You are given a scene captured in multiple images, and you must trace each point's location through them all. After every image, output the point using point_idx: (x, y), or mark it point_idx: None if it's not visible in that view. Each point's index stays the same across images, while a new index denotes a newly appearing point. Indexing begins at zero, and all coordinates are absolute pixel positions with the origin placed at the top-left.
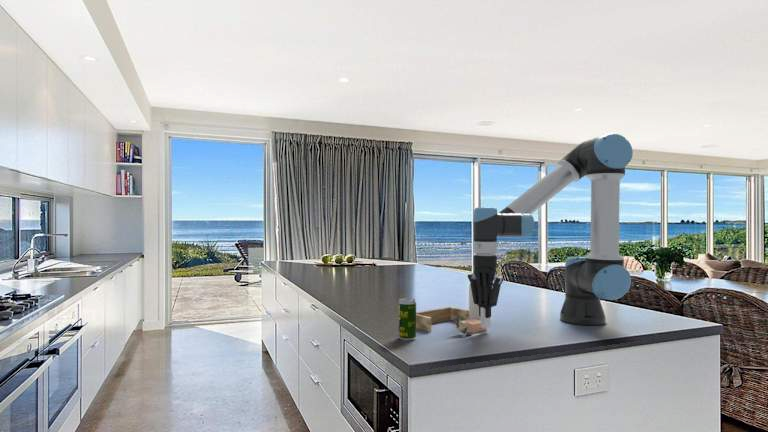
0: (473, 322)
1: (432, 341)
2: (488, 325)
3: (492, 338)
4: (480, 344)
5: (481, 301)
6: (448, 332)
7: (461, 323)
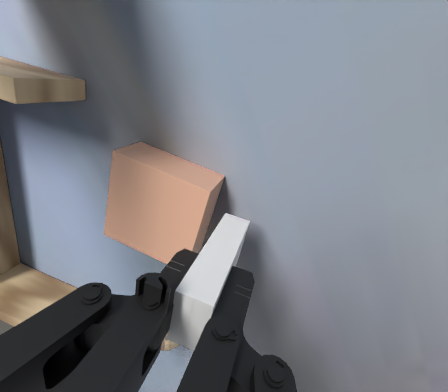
0: (163, 236)
1: (163, 383)
2: (245, 232)
3: (310, 303)
4: (299, 383)
5: (141, 380)
6: (131, 283)
7: (167, 350)
